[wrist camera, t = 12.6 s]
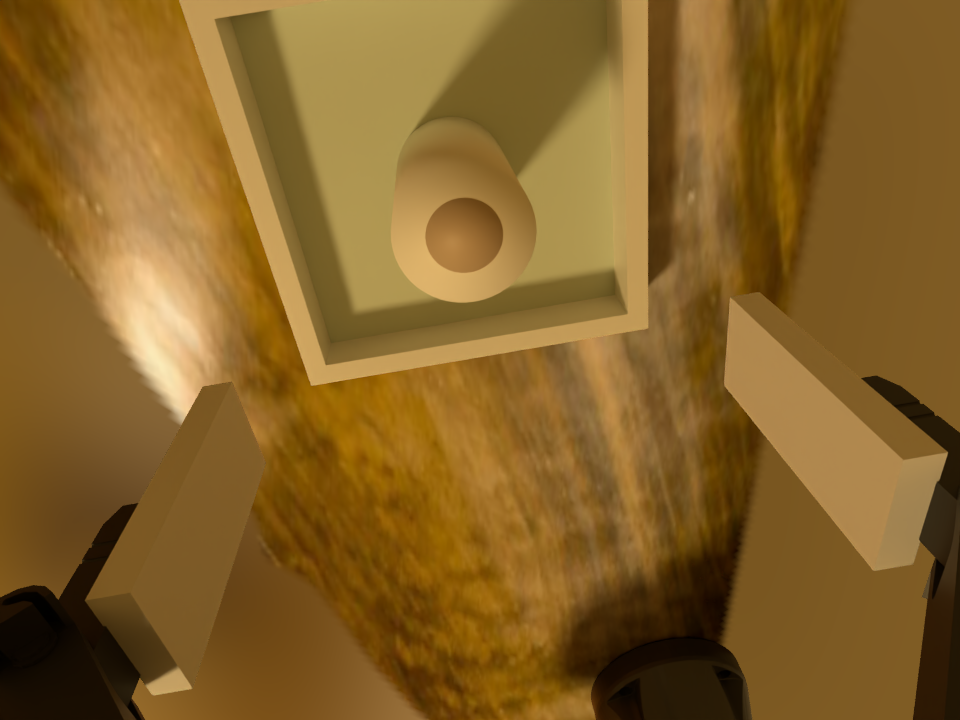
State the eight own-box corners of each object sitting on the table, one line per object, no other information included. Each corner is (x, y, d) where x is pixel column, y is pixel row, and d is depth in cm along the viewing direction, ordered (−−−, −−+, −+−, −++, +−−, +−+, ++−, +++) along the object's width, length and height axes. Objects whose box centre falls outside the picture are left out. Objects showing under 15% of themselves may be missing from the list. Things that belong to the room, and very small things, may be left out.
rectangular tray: (630, 303, 40) (648, 328, 37) (319, 356, 40) (311, 385, 37) (624, -79, 29) (648, -87, 26) (200, -9, 29) (176, -9, 26)
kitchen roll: (512, 217, 36) (543, 289, 27) (409, 235, 36) (407, 313, 27) (498, 107, 32) (528, 149, 24) (385, 127, 32) (375, 176, 24)
